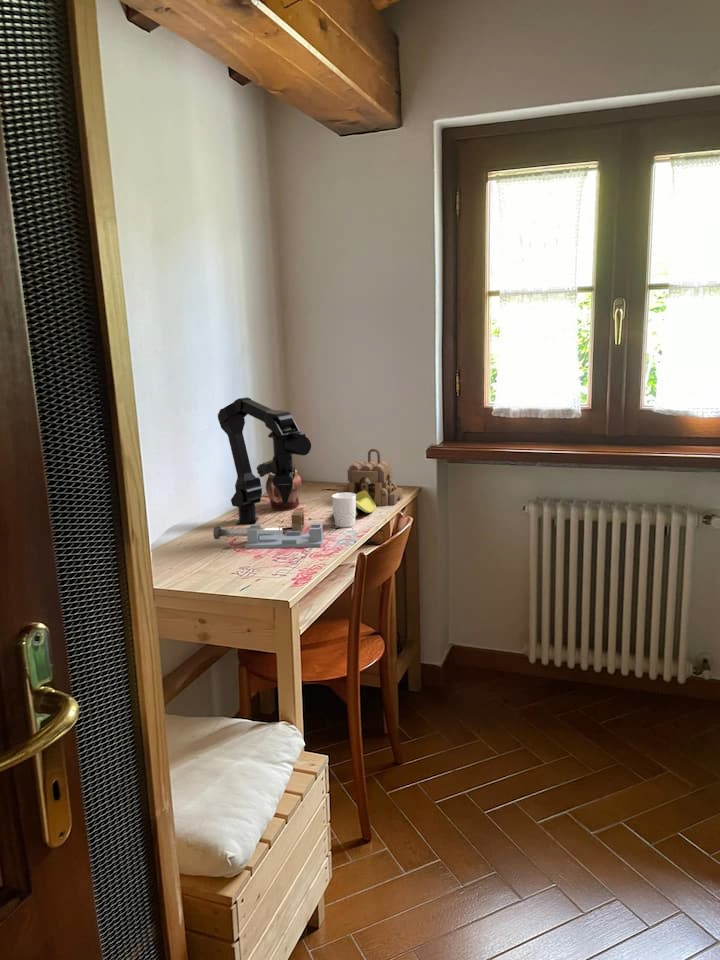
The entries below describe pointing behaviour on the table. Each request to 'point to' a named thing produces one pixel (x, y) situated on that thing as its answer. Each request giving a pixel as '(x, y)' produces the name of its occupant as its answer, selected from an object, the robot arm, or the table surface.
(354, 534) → the table surface
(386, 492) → the tan backpack
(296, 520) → the frame
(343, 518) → the white cup
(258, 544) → the rail
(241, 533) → the shaft
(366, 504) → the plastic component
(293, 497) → the decorative planter
